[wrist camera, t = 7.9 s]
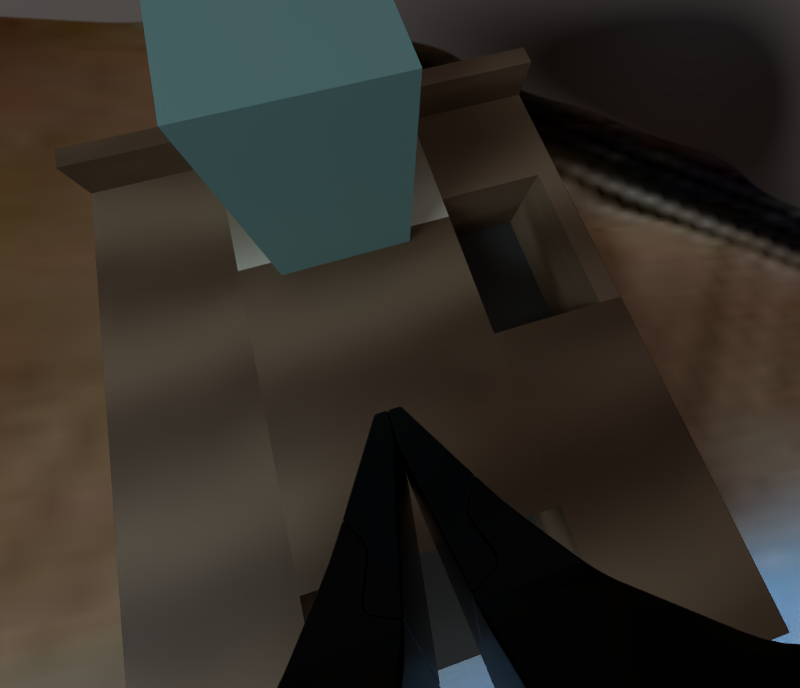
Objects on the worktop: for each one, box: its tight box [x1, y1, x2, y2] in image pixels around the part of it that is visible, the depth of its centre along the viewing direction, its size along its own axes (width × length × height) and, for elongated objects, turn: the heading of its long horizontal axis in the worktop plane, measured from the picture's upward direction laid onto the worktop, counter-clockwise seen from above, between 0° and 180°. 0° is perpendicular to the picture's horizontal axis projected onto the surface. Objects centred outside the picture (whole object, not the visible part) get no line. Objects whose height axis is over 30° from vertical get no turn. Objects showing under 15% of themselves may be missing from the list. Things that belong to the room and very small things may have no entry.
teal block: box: [140, 0, 422, 275], centre depth 11 cm, size 6×6×7 cm
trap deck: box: [55, 48, 790, 688], centre depth 13 cm, size 26×22×6 cm
